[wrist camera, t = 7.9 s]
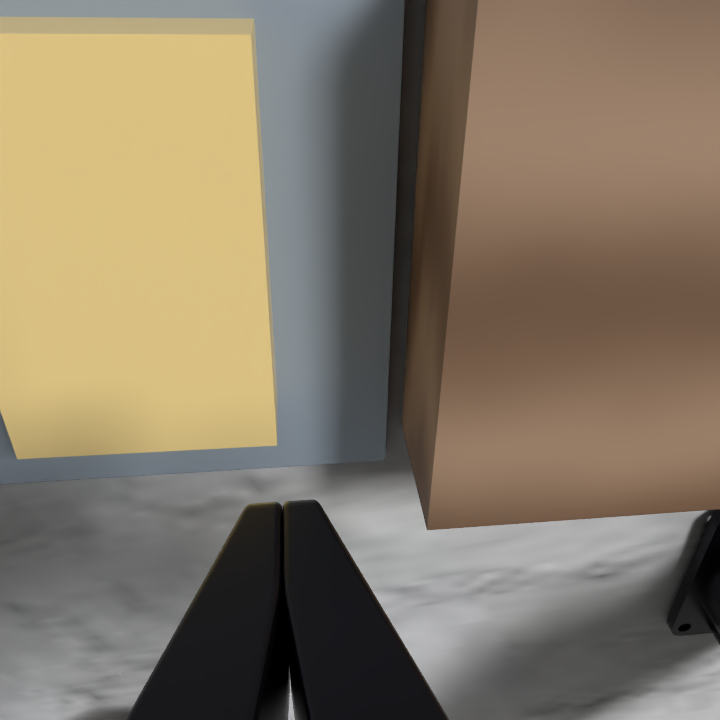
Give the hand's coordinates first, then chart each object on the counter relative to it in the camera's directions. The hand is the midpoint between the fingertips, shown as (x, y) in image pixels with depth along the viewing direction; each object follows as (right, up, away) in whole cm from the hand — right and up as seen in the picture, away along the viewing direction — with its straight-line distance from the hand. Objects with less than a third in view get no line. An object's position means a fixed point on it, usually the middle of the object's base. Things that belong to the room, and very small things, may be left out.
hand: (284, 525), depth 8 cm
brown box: (+7, +5, +8) cm, 12 cm away
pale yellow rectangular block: (-4, +4, +5) cm, 8 cm away
